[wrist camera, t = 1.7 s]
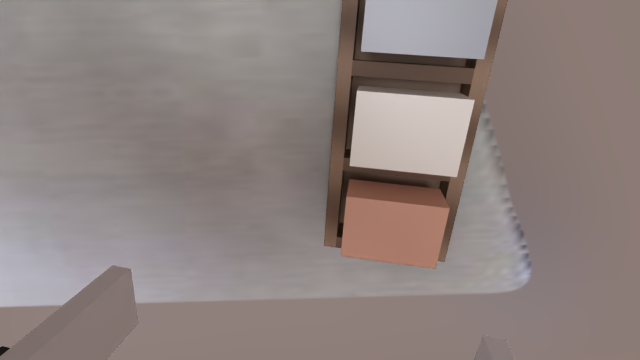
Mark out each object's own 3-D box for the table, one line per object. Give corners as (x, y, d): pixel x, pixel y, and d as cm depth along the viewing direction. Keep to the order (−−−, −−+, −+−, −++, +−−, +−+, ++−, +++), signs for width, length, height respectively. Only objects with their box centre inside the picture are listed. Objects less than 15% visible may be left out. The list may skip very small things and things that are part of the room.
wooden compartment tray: (350, -50, 23) (347, -64, 20) (502, -46, 22) (522, -60, 19) (328, 228, 31) (324, 245, 28) (437, 242, 30) (444, 261, 27)
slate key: (370, -33, 20) (370, -48, 17) (486, -29, 19) (507, -43, 16) (362, 51, 22) (360, 51, 19) (468, 58, 21) (484, 59, 18)
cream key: (358, 85, 23) (356, 90, 20) (460, 93, 22) (474, 99, 19) (352, 151, 25) (349, 165, 22) (446, 160, 24) (456, 177, 21)
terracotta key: (349, 179, 25) (346, 196, 22) (440, 189, 25) (449, 208, 22) (344, 232, 27) (340, 255, 24) (428, 243, 26) (435, 268, 23)
